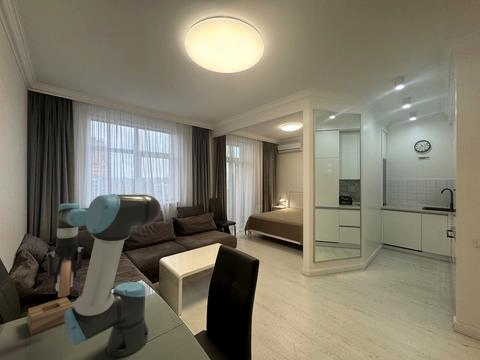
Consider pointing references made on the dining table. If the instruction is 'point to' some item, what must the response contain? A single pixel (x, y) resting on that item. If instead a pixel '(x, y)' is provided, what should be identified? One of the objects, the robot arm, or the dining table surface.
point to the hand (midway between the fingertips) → (64, 287)
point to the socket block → (47, 315)
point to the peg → (64, 278)
